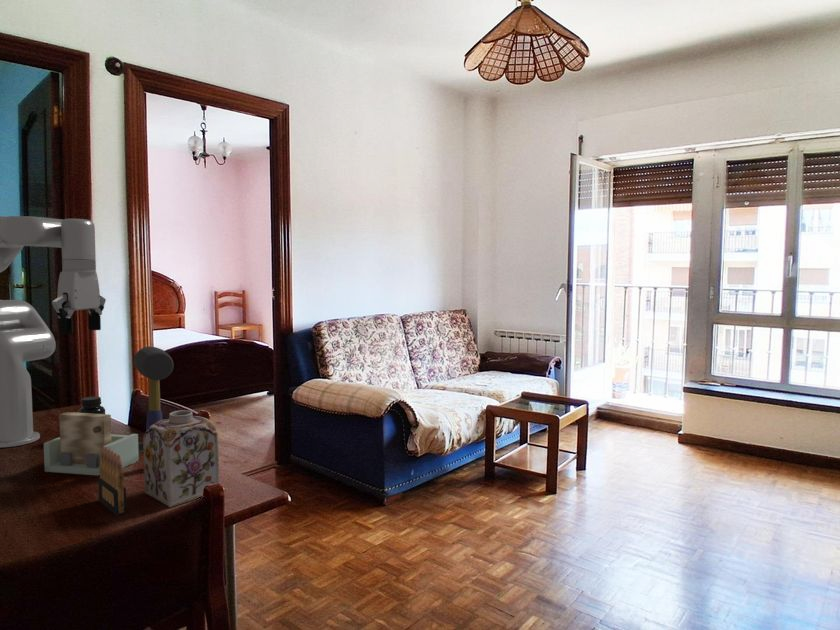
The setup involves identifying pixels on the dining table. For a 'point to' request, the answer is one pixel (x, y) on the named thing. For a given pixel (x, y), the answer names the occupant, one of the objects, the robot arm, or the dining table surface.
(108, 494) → the ammunition clip
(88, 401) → the supplement bottle
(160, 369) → the rubber mallet
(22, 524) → the dining table surface
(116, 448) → the cabinet
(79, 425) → the wooden block
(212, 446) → the decorative jar
